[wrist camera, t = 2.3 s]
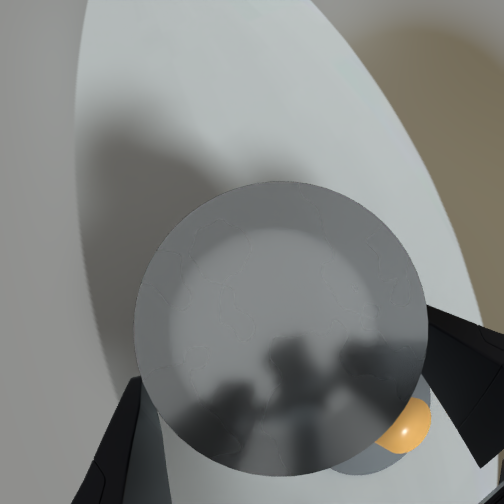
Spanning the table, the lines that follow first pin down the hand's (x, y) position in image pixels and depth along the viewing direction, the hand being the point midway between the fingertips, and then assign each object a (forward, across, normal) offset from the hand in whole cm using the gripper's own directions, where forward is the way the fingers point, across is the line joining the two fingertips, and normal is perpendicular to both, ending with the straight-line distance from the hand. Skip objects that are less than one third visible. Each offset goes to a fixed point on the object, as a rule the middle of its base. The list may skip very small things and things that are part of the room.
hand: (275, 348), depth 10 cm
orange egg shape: (+1, -6, +10) cm, 12 cm away
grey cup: (+6, 0, +6) cm, 8 cm away
